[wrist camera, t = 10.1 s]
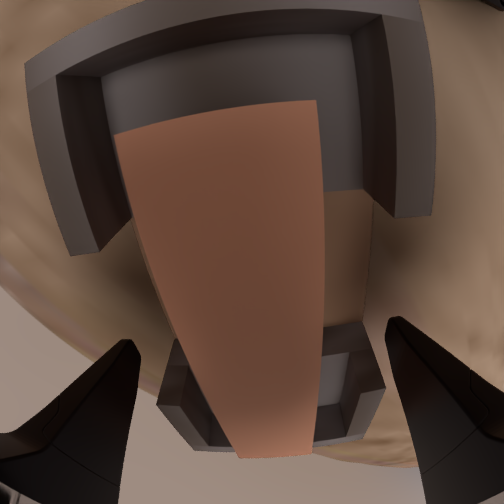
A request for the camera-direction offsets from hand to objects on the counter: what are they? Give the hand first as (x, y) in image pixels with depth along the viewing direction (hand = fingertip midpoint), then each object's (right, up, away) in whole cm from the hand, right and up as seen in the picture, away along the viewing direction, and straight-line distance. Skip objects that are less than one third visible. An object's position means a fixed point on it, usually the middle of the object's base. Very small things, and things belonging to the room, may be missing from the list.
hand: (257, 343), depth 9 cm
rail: (0, +1, +2) cm, 2 cm away
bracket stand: (0, +3, +5) cm, 5 cm away
